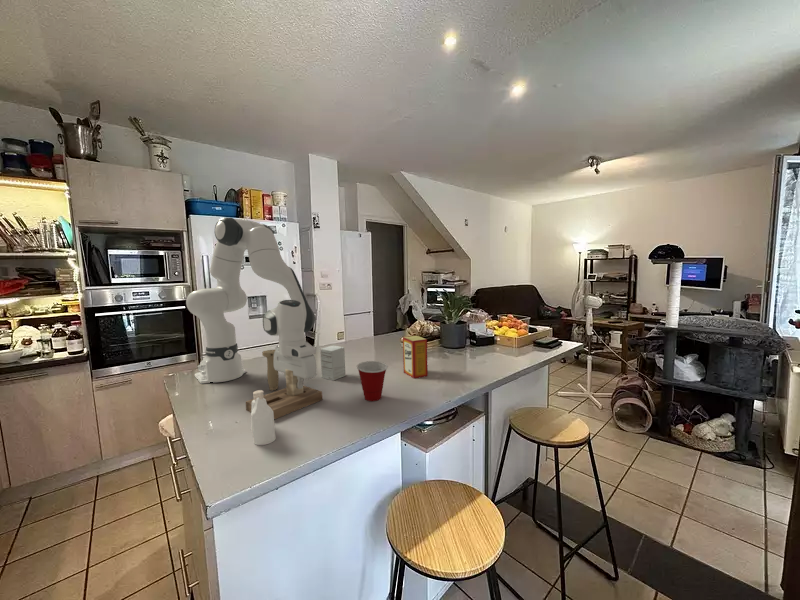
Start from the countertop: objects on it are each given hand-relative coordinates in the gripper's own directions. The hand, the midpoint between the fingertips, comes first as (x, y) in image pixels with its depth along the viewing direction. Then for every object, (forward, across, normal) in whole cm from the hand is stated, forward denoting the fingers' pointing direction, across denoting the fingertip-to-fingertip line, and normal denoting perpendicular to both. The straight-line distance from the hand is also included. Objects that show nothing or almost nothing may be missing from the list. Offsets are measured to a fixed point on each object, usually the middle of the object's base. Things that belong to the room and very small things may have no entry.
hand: (294, 386), depth 114 cm
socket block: (+5, 0, -4) cm, 6 cm away
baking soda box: (+5, +18, +47) cm, 51 cm away
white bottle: (+5, +9, -18) cm, 21 cm away
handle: (+5, -17, +2) cm, 18 cm away
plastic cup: (+5, +21, +17) cm, 28 cm away
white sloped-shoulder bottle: (+5, +16, -21) cm, 27 cm away
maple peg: (+4, 0, 0) cm, 4 cm away
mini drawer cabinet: (+5, -9, +25) cm, 27 cm away
